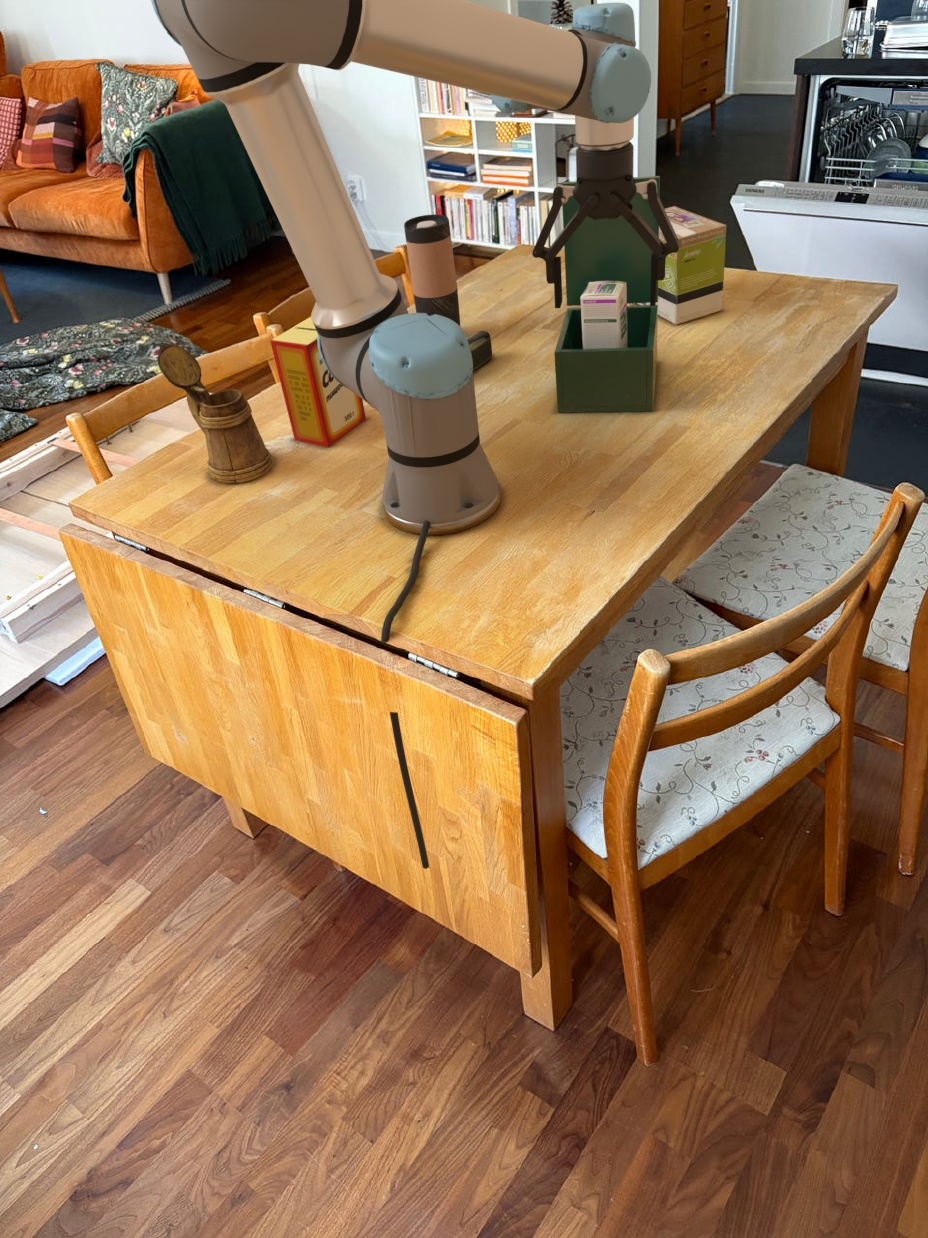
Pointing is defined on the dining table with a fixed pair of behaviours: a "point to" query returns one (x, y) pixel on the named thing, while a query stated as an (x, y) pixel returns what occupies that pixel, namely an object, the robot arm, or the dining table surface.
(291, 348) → the baking soda box
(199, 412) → the wooden mug
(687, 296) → the tea box
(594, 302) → the syrup box
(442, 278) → the travel mug
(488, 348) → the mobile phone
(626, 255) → the lid
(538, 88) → the robot arm
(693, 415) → the dining table surface
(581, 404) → the tin
